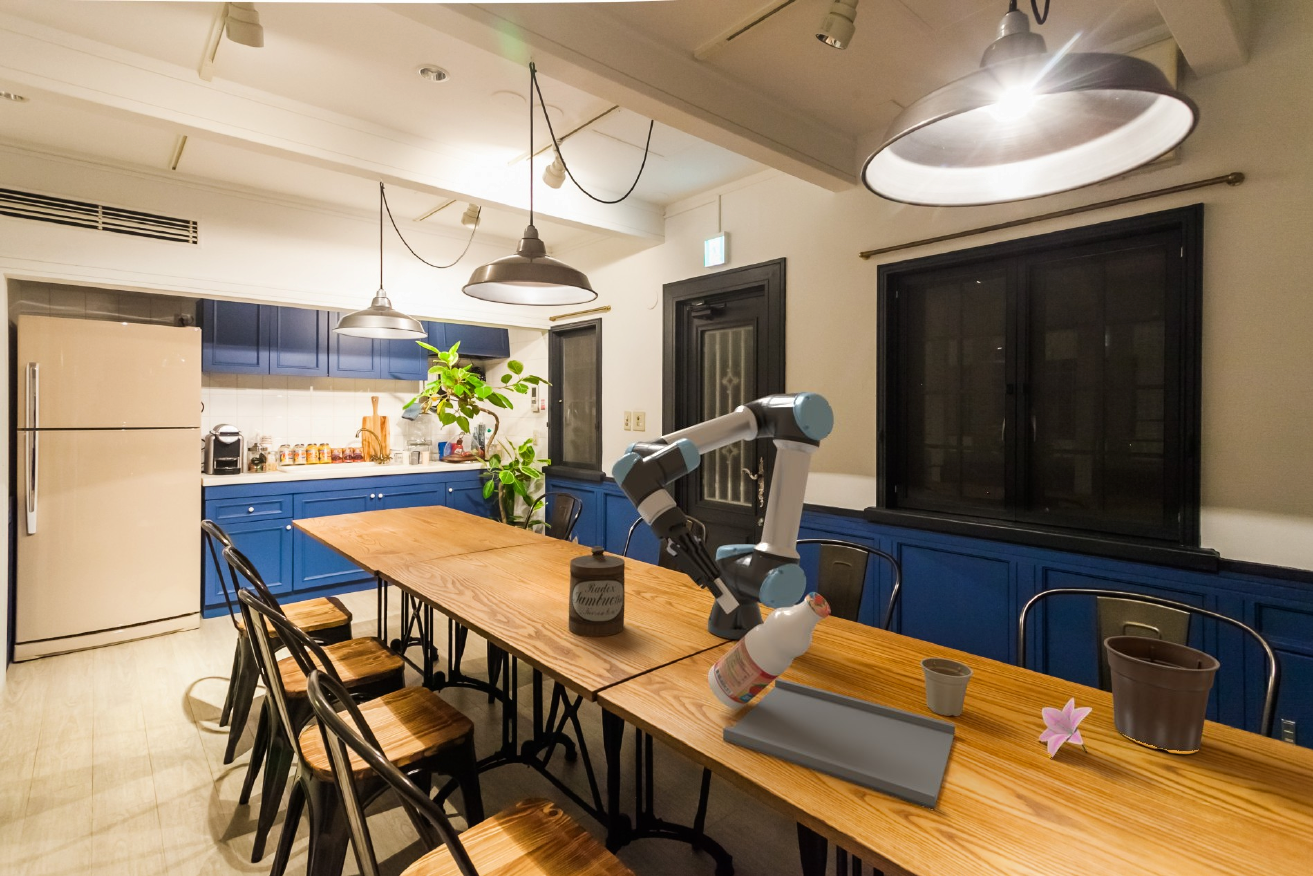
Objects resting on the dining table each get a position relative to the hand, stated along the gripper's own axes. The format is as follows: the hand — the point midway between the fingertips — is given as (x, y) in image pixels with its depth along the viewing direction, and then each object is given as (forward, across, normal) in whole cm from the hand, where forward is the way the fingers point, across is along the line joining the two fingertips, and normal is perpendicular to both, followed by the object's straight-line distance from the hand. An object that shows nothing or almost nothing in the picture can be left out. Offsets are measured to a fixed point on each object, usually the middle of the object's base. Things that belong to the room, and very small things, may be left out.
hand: (733, 609), depth 119 cm
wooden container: (-21, -20, -48) cm, 56 cm away
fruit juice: (+11, 0, -12) cm, 16 cm away
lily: (+53, -18, +25) cm, 61 cm away
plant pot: (+63, -34, +36) cm, 80 cm away
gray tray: (+29, 0, +2) cm, 29 cm away
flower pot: (+39, -23, +12) cm, 47 cm away
